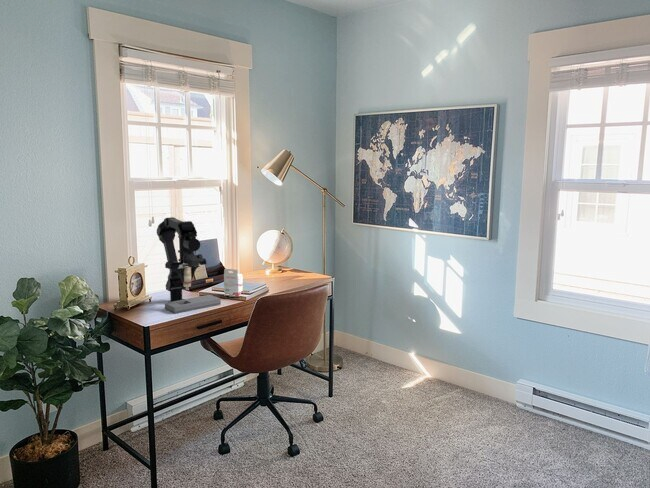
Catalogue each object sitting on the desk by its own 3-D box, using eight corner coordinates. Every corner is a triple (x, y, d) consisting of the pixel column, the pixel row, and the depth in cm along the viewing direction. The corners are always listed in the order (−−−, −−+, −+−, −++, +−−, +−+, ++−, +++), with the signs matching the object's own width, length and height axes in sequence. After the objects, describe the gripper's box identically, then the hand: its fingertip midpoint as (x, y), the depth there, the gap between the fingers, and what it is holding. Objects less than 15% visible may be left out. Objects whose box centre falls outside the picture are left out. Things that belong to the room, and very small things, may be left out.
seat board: (164, 309, 247) (164, 303, 246) (210, 300, 263) (209, 294, 262) (174, 313, 239) (174, 307, 239) (220, 304, 255) (220, 298, 255)
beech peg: (184, 285, 249) (183, 266, 248) (192, 285, 249) (192, 266, 248) (181, 287, 245) (181, 268, 244) (190, 287, 245) (189, 268, 244)
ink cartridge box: (243, 296, 272) (243, 268, 270) (238, 298, 267) (237, 269, 265) (229, 294, 275) (228, 266, 273) (224, 296, 270) (223, 268, 268)
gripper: (176, 252, 233) (177, 287, 235) (212, 248, 246) (213, 280, 248) (164, 249, 240) (165, 283, 243) (199, 245, 253) (200, 277, 256)
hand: (186, 281), depth 247 cm, fingers closed on beech peg, 4 cm apart
